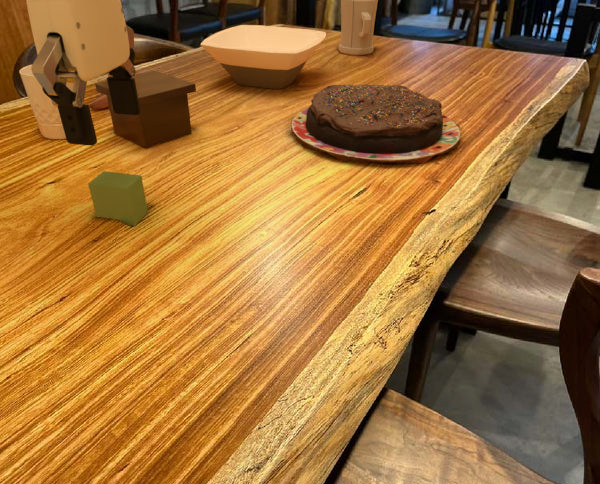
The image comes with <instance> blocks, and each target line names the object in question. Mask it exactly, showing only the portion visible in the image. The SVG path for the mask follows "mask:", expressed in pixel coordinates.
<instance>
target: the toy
mask: <svg viewBox="0 0 600 484" xmlns="http://www.w3.org/2000/svg"><path fill="white" fill-rule="evenodd" d="M88 189H89V192H90V196H91V200H92V204H93V208H94V209H93V210H94V212H95V216H96V217H97V218H104V219H113V220H118V221H119V222H121V223H123V224H124V225H126V226H130V227H131V226H132V227H136V226H137V225H138V224H139V222H141V220H142V219H143V218H144V217H146V215H147V214H148V213H149V211H148V210H149V209H148V205H147V198H146V193H145V187H144V182H143V177H142V174H141V175H140V174H134V173H133V174H132V173H123V172H114V171H105V170H103V171H102V172H101V173H100V174H98V175H97V176H96V177H94V178H93V179H92V180H91V181H89V182H88Z"/></svg>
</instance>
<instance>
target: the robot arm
mask: <svg viewBox="0 0 600 484" xmlns="http://www.w3.org/2000/svg"><path fill="white" fill-rule="evenodd" d="M25 1H26V8H27V13H28V18H29V22H30V28H31V32H32V37H33V41H34V46H35V50H36V54H37V56H36V57H35V59H34V61H33V63H32V64H31V65H32V68H31V70H32V73H33V75H34V76H35V78H36V79H37V80H38V82H39V83H40V85H41V86H42V89H43V92H44V93H45V94H46V95H47V96H48V97H49V98H50V99H51V101H52V104H53V105H54V106H57V107H58V110H59V114H60V118H61V121H62V125H63V129H64V132H65V136H66V142H67V143H68V144H70V145H81V146H90V147H91V146H92V147H93V146H95V145H96V144H98V138H97V134H96V130H95V125H94V121H93V118H92V113H91V108H90V104H84V102H85V96H86V91H87V84H88V82H91V81H94V80H95V79H97V78H99V77H102V76H103V75H106V74H108V73H109V74H110V75H111V76H113V77H108V76H107V77H106V81H107V82H108V87H109V91H110V96H111V101H112V106H113V110H114V112H115V113H116V114H127V115H138V114H139V113H140V105H139V100H138V94H137V89H136V83H135V78H134V77H135V75H136V74H137V70H136V67H135V66H134V63H135V58H136V52H135V50H134V48H135V31H134V29H133V28H131V27H130V26H128V25H127V24H126V18H125V14H124V9H123V4H122V1H121V0H25ZM73 71H75V72H73ZM131 77H133V78H131ZM66 82H69V83H74V86H73V92H72V91H71V90H70V89H69V88H68V87H67V86H66Z"/></svg>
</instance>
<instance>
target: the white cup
mask: <svg viewBox="0 0 600 484" xmlns="http://www.w3.org/2000/svg"><path fill="white" fill-rule="evenodd" d="M32 65H33V64H28V65H26V66H24V67H22V68H20V69H19V71H18V73H19V75H20V79H21V81H22V84H23V87H24V90H25V93H26V96H27V99H28V101H29V105H30V107H31V109H32V114H33V116H34V117H35V119H36V122H37V125H38V129H39V132H40V134H41V136H42V137H44V138H45V139H50V140H65V139H66V136H65V132H64V129H63V125H62V121H61V118H60V114H59V110H58V107H57V106H54V105H53V104H52V101H51V99H50V98H49V97H48V96H47V95H46V94H45V93H44V92H43V89H42V86H41V85H40V83H39V82H38V80H37V79H36V78H35V76H34V75H33V73H32V70H31V68H32ZM73 72H76V71H73ZM66 86H67V87H68V88H69V89H70V90H71V91H72V92H73V86H74V83H69V82H66Z"/></svg>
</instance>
